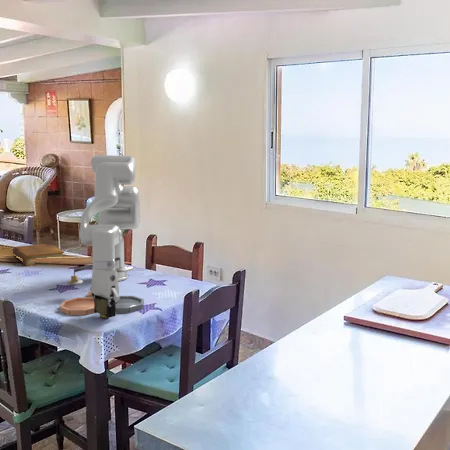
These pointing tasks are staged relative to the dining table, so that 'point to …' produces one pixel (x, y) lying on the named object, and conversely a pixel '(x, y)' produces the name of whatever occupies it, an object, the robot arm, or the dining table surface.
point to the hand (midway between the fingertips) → (104, 313)
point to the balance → (75, 279)
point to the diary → (36, 252)
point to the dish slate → (129, 304)
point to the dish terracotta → (78, 306)
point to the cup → (101, 306)
